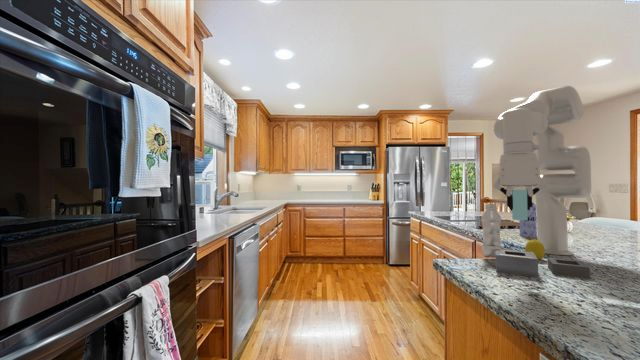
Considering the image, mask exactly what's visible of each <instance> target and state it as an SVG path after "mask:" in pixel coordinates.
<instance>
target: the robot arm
mask: <svg viewBox="0 0 640 360" xmlns="http://www.w3.org/2000/svg"><path fill="white" fill-rule="evenodd" d="M584 111H585V109H584V105H583V101H582V99H581V97H580V94H579V92H578V90H577V89H576V88H575V87H573V86H571V85H564V86H558V87H554V88H548V89H545V90H540V91H537V92H535V93H532V94H531V96H529V98H527V100H526V101H525V102H524V103H522V104H519V105H517V106H515V107H513V108H511V109H508V110H507V111H504V112H502V113H501V114H500V115H499V116H498V117H497V119H496V120H495V122H494V125H493V133H494V135H495V136H496V138H497V139H500V140H503V141H502V142H503V143H502V144H503V154H502V155H500V158H499V165H498V178H497V180H495V183H494V184H493V186H492V188H493V189H496V190H497V191H500V192H501V193H502V194H504V195H505V196H506V207H509V210H511V211H512V209H513V197H512V190H513V187H526V190H527V210H530V207H532V202H533V196H534V197H535V203H536V204H535V205H536V221H537V237H536V240H537V241H540V242H541V243H542V244H543V246H544V248H545V254H548V255H557V256H571V255H574V251H573V250H572V249H569V240H568V239H569V238H568V210H567V208H566V205H565V204H564V203H563V202H562V201H560V200H559V199H560V198H561V199H565V198H567V199H581V198H582V199H584V198H587V197H589V196H590V195H591V192H592V167H591V166H592V165H591V163H592V162H591V155H590V151H589V149H588V148H587V147H585V146H584V145H583V146H582V145H570V146H565V136H564V133H563V132H561V131H560V130H559V129H558V128H557V127H555V126H554V125H561V124H567V123H568V124H569V123H575V122H578V121H579V120H581V119H582V118H583V116H584ZM535 136H536V139H537V144H535V143H534V137H535ZM536 150H537V153H536V152H535V151H536ZM540 171H543V172H562V171H565V172H566V171H571V172H574V173H547V174H541V173H540ZM502 186H503V187H502ZM504 187H505V188H504Z"/></svg>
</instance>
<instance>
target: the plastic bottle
mask: <svg viewBox="0 0 640 360" xmlns="http://www.w3.org/2000/svg"><path fill="white" fill-rule="evenodd" d="M484 209H485V211H484V212H483V214H482V215H481V224H482V232H483V239H482V245H481V246H482V247H481V253H482V255H483V256H484V258H488V259H489V258H496V254H495V249H502V246H501V234H500V233H501V224H502V217H501V215H500V214H499V212H498V211H497V210H498V207H497V204H496V203H485V206H484Z"/></svg>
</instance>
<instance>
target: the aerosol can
mask: <svg viewBox="0 0 640 360" xmlns="http://www.w3.org/2000/svg"><path fill="white" fill-rule="evenodd" d="M527 213H528V220H518V221H519V223H518V224H519V236H520V237H525V238H526V237H527V238H537V208H536V204H535V203H534V202H533V201H532V207H530V210H527Z"/></svg>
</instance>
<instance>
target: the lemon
mask: <svg viewBox="0 0 640 360" xmlns="http://www.w3.org/2000/svg"><path fill="white" fill-rule="evenodd" d="M524 251H525V252H533V253H534V254H535V256H536V257H537V259H538V261H539V260H542V259H543V258H544V257H545V254H546V253H545V248H544V246H543V244H542V243H541V242H540V241H537V238H533V239H531V240H528V241H527V242H526V244H525V248H524Z"/></svg>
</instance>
